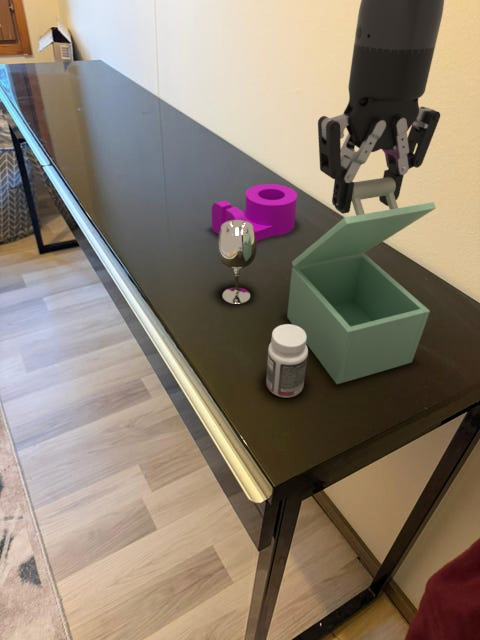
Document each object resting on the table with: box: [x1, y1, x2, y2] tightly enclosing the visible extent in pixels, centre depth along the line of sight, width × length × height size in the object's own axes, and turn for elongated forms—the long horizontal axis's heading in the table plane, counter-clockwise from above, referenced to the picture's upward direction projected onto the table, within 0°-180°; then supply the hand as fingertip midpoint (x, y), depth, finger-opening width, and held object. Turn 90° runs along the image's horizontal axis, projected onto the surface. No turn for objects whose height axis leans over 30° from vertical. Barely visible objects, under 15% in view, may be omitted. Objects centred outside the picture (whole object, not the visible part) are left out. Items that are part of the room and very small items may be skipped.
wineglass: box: [216, 220, 258, 305], centre depth 68 cm, size 6×6×12 cm
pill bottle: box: [265, 323, 309, 399], centre depth 55 cm, size 5×5×8 cm
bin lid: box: [291, 177, 436, 267], centre depth 57 cm, size 16×12×5 cm
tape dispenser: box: [211, 183, 298, 242], centre depth 88 cm, size 16×10×6 cm, turn 125°
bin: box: [286, 253, 431, 385], centre depth 62 cm, size 15×12×9 cm
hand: (364, 206), depth 54 cm, fingers closed on bin lid, 5 cm apart
